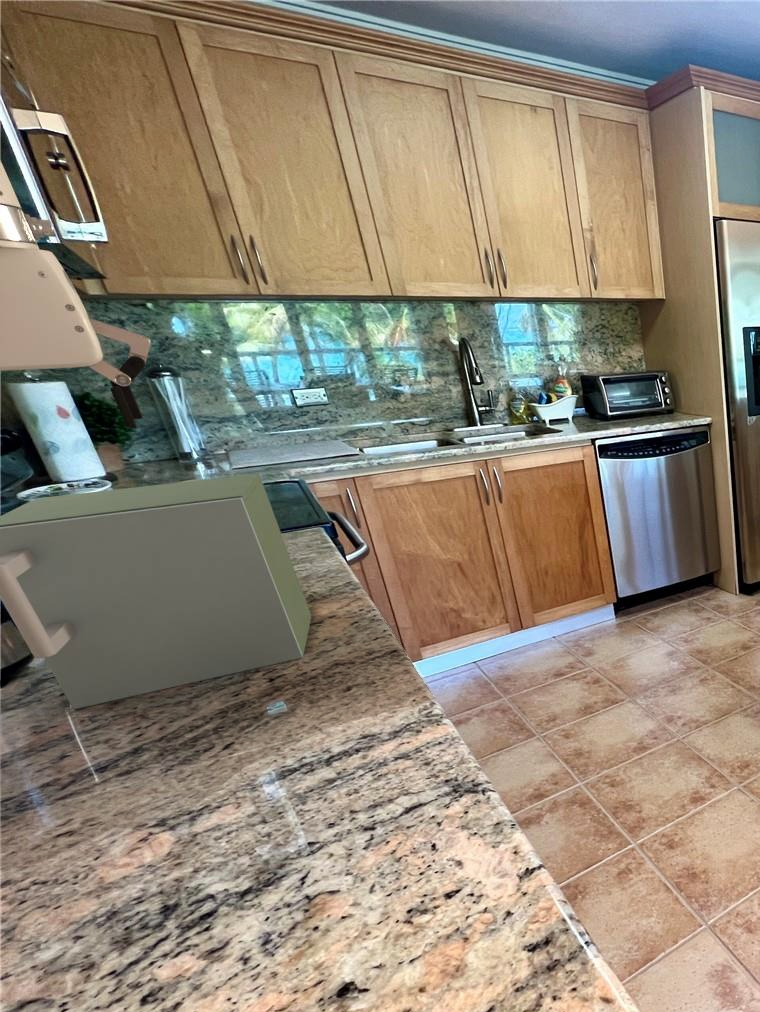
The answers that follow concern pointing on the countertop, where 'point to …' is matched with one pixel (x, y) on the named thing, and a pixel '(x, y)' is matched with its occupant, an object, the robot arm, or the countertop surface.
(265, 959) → the countertop surface
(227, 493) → the cupboard
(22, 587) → the door
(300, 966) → the countertop surface
